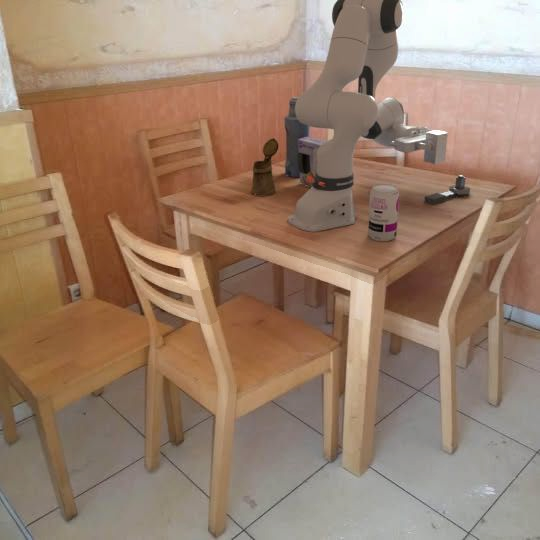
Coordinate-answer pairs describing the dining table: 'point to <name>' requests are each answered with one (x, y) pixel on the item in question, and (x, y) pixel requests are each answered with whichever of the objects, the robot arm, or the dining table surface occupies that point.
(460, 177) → the ratchet
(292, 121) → the bottle
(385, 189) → the supplement can
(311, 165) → the cake pan box
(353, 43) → the robot arm
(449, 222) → the dining table surface
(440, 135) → the tall grey pillar block
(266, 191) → the wooden mug
